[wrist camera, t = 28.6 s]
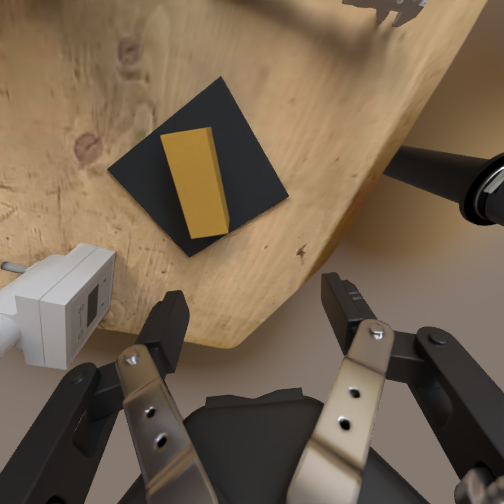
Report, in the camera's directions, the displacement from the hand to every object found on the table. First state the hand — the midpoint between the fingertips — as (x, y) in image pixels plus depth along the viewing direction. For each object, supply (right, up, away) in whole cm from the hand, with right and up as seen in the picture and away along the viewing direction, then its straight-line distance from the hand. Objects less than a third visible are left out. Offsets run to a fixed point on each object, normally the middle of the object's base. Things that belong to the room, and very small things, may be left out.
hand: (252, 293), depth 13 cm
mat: (-7, +12, +18) cm, 23 cm away
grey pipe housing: (-30, 0, +24) cm, 39 cm away
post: (-6, +6, +18) cm, 20 cm away
